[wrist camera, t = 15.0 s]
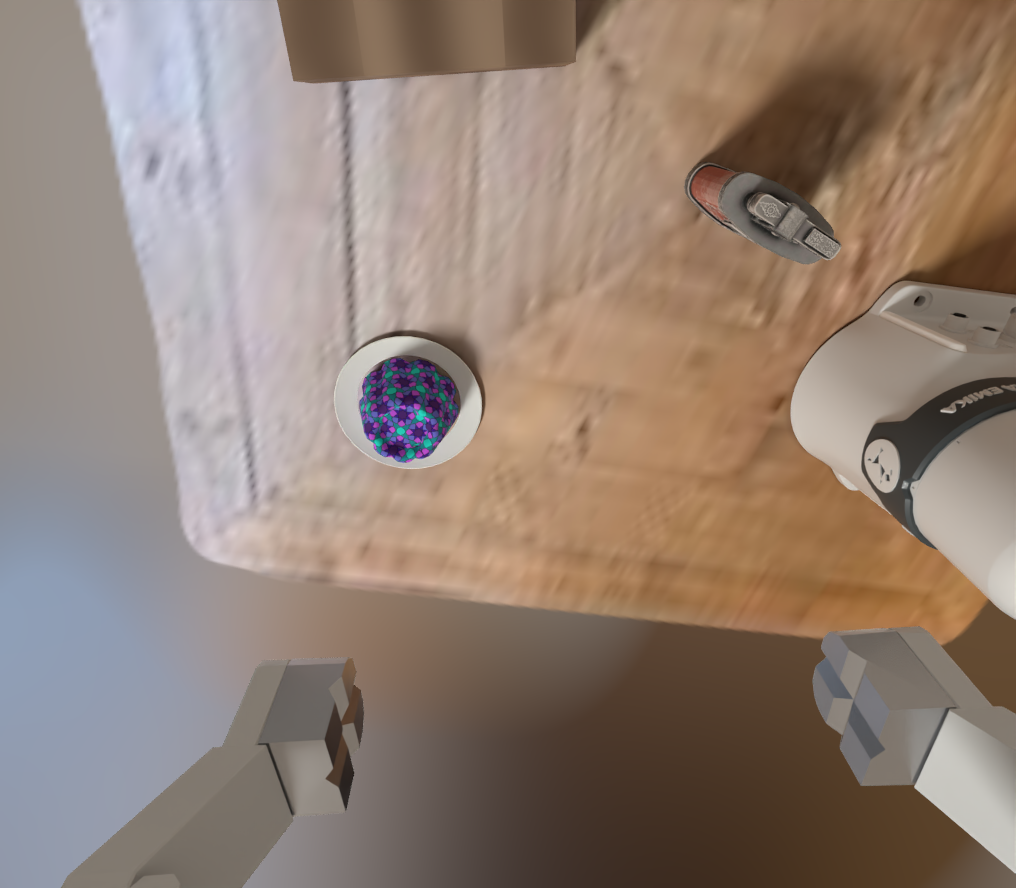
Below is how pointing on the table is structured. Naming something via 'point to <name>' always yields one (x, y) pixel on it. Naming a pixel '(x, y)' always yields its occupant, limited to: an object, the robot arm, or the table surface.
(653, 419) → the table surface
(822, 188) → the table surface
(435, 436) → the pudding
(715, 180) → the lighter
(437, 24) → the walnut collar
